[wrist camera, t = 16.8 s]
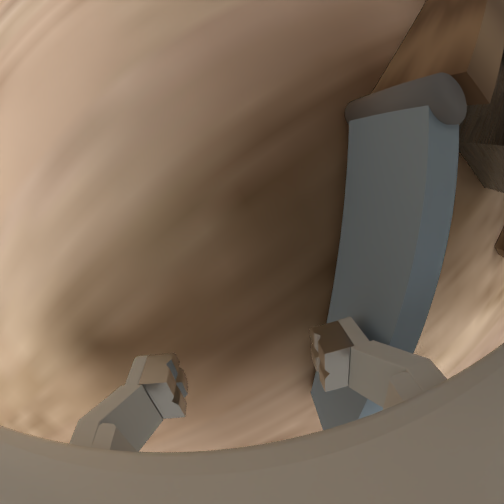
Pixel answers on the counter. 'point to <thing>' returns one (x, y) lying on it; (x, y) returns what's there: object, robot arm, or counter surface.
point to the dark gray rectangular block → (486, 137)
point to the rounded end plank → (393, 220)
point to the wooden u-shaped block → (453, 50)
